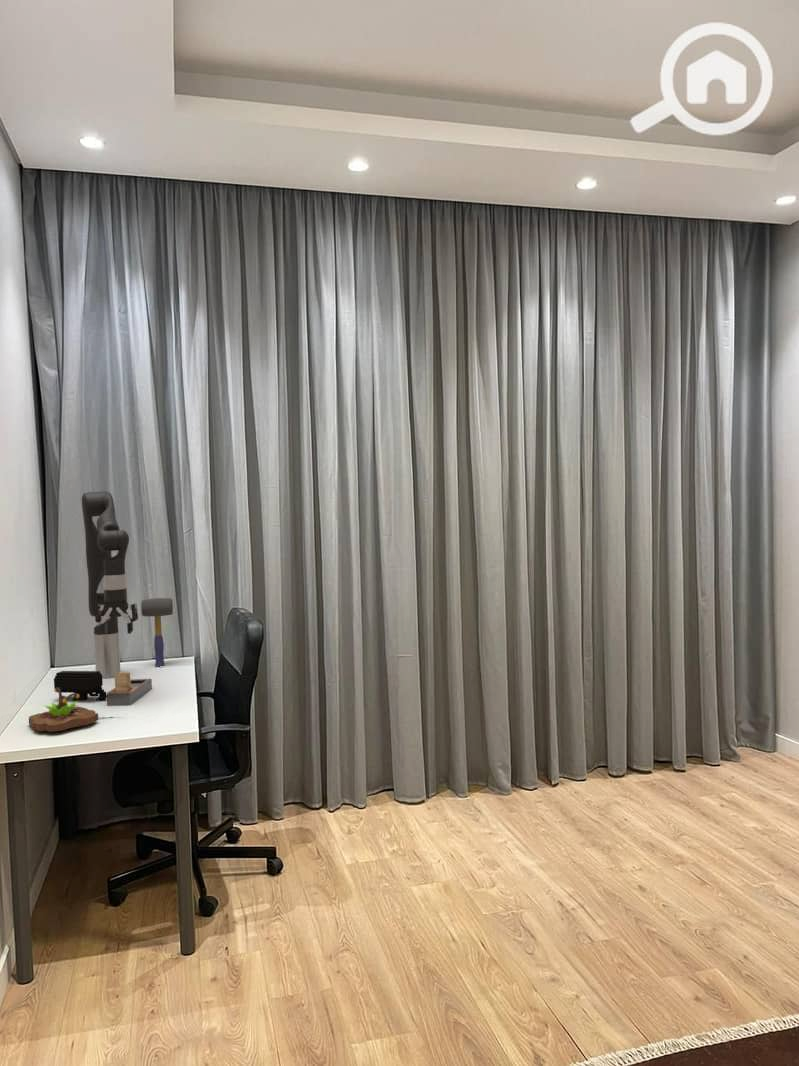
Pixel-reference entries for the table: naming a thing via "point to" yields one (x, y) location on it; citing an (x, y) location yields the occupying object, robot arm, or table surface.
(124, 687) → the brown upright block
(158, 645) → the rubber mallet
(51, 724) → the plant
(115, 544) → the robot arm
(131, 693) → the rail
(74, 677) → the security camera
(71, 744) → the table surface
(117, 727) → the table surface
